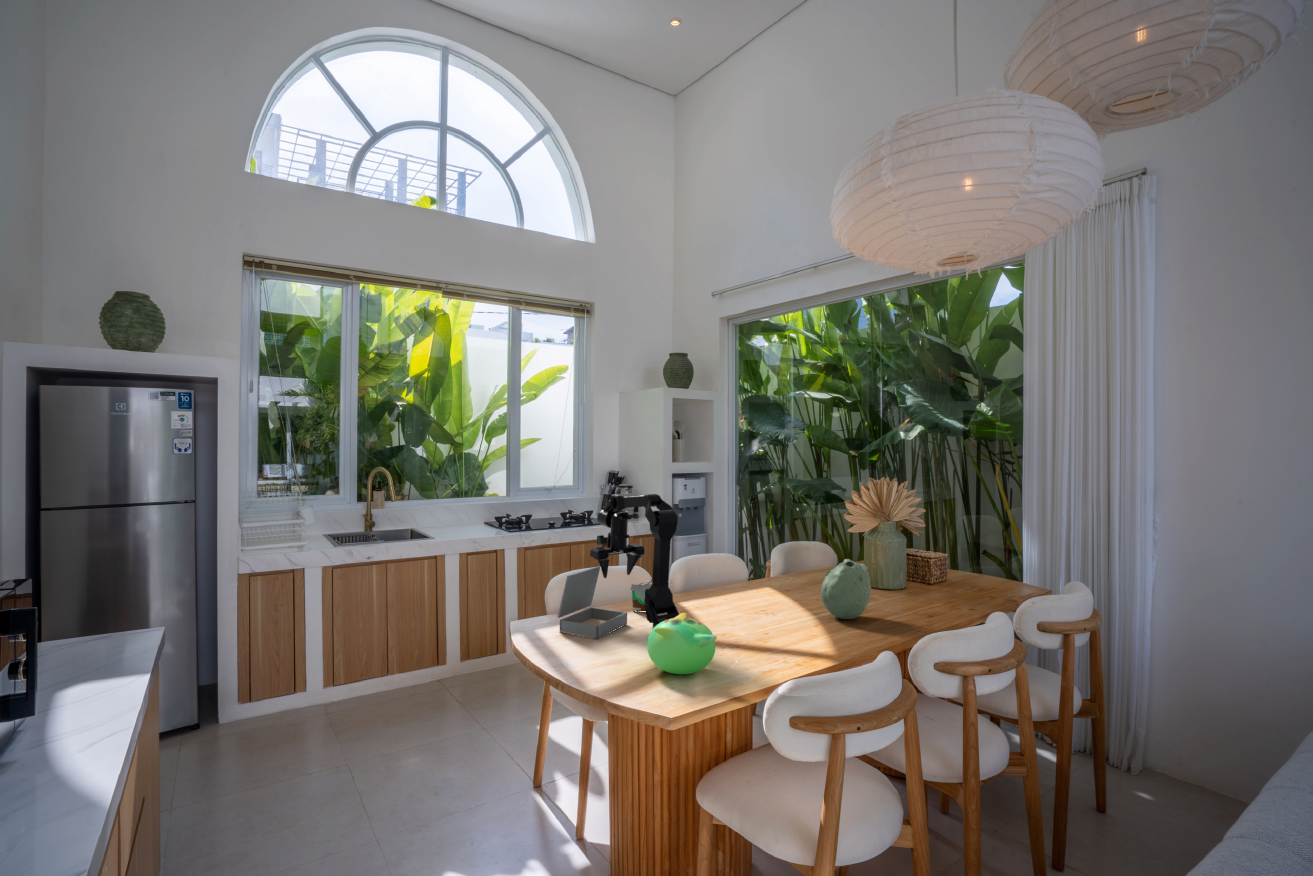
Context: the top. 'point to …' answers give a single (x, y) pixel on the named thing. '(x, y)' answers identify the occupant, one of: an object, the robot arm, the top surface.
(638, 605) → the food container
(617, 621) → the box
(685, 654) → the toy bird
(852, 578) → the green avocado
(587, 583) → the mailer lid
